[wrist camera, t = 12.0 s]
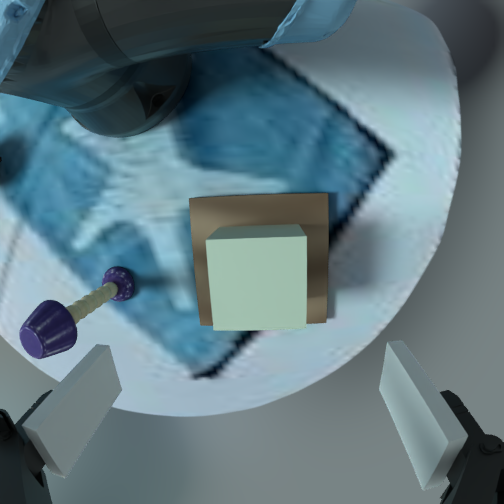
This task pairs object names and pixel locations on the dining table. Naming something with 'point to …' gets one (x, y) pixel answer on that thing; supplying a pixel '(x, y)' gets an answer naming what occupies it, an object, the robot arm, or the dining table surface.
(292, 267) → the sage block
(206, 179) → the dining table surface
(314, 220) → the walnut board
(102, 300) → the toy lamp
